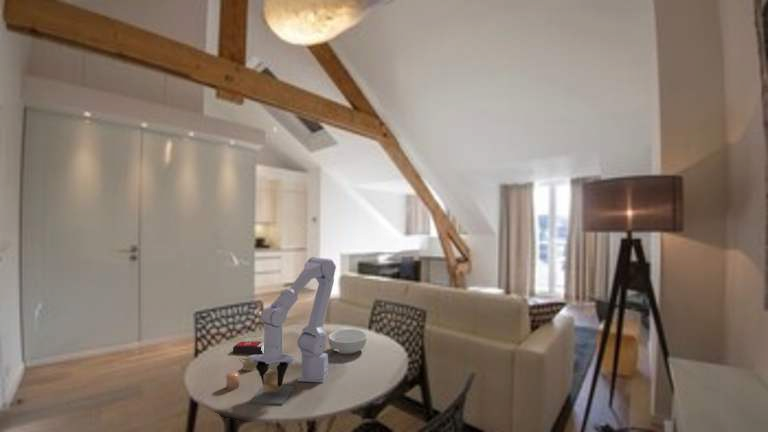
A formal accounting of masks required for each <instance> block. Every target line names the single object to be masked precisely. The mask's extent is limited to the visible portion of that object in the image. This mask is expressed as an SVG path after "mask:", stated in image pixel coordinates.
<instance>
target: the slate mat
mask: <svg viewBox="0 0 768 432" xmlns="http://www.w3.org/2000/svg"><path fill="white" fill-rule="evenodd" d="M294 389H295V386H293V385H282V386H281V388H280V389H279V390H278V392H277V393H276V392H263V385H262V386H261V387H260V388H259V390H257V392H256V393H255V394H253V396H252V397H251V399H249V401H248V404H252V403H254V404H255V405H272V406H273V405H275V406H283V405H284V403H285V402H286V401H287V399H288V398H289V396H290V395H291V394H292V393H293V391H294Z"/></svg>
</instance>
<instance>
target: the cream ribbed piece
mask: <svg viewBox="0 0 768 432" xmlns="http://www.w3.org/2000/svg"><path fill="white" fill-rule="evenodd" d="M253 355H254V354H250V355H248V356H247V357H239V358H238V360H239V361H240V362H241V363H242V367H241V370H243V371H248V372H249V371H254V370H255V371H256V370H257V369H256V366H257V364H258V362H254V363H251V356H253Z"/></svg>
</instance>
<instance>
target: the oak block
mask: <svg viewBox="0 0 768 432" xmlns="http://www.w3.org/2000/svg"><path fill="white" fill-rule="evenodd" d="M262 386H263V392H276V393H277V392H278V390H279V389H280V388H281V386H283V384H282V385H281V386H278V371H277V369H269V370H268V371H267V372H266V373H265V374H264V378H263V382H262Z"/></svg>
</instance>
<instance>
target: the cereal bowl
mask: <svg viewBox="0 0 768 432" xmlns="http://www.w3.org/2000/svg"><path fill="white" fill-rule="evenodd" d="M367 336H368V335H367V334H366V333H365V332H364V331H362V330H360V329H349V328H348V329H339V330H336V331H332V332H331V333H329V334H328V344H329V347H330V348H331V349H332V350H333V349H338V350H339V352H338V353H340V354H342V355H353V354H355V353H357V352H359V351H361V350H362V349H363V348H365V346H366V343H367ZM336 338H342V339H343V340H344V341H345V343H344V342H337V341H334V340H335V339H336Z"/></svg>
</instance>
